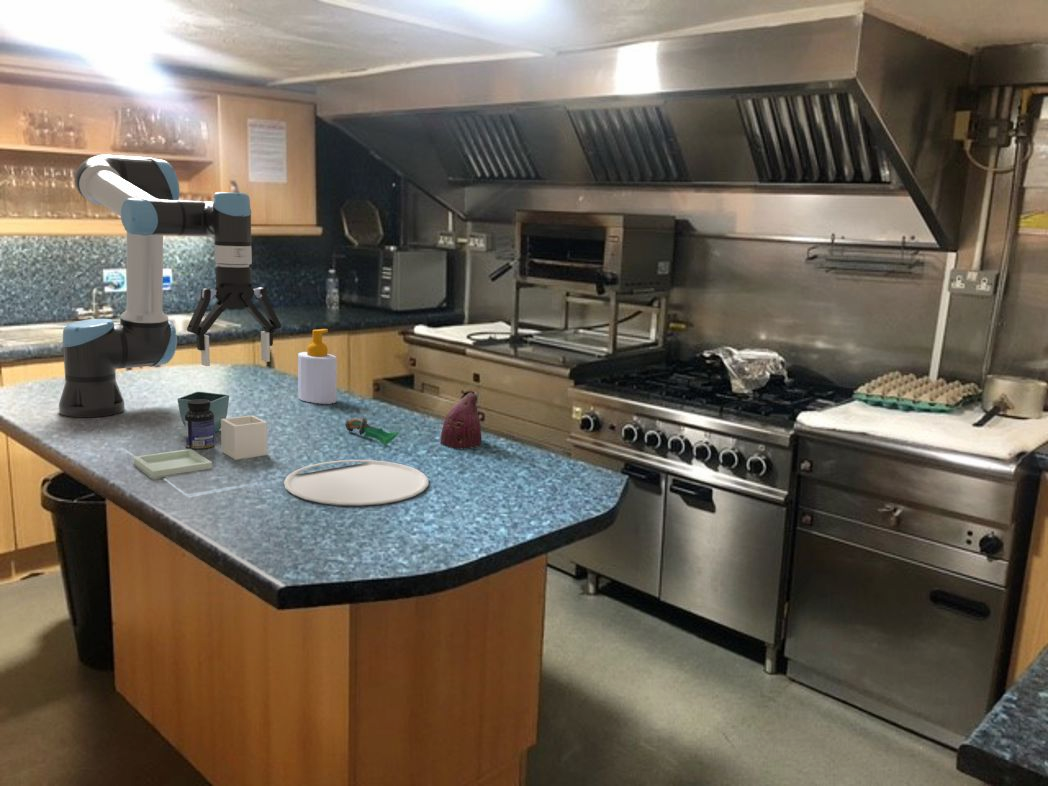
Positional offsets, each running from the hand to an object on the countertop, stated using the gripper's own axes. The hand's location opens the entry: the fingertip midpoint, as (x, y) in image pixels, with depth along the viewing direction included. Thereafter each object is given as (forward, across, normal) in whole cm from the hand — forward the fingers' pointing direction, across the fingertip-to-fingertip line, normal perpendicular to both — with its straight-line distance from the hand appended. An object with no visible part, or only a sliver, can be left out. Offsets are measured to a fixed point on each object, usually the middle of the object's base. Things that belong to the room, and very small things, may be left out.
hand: (236, 363), depth 190 cm
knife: (+21, +31, -6) cm, 38 cm away
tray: (+20, -16, -4) cm, 26 cm away
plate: (+22, +11, -33) cm, 41 cm away
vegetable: (+21, +48, -19) cm, 56 cm away
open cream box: (+20, 0, -3) cm, 21 cm away
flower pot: (+20, 0, +20) cm, 28 cm away
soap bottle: (+20, +40, +39) cm, 59 cm away
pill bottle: (+20, -6, +7) cm, 22 cm away
